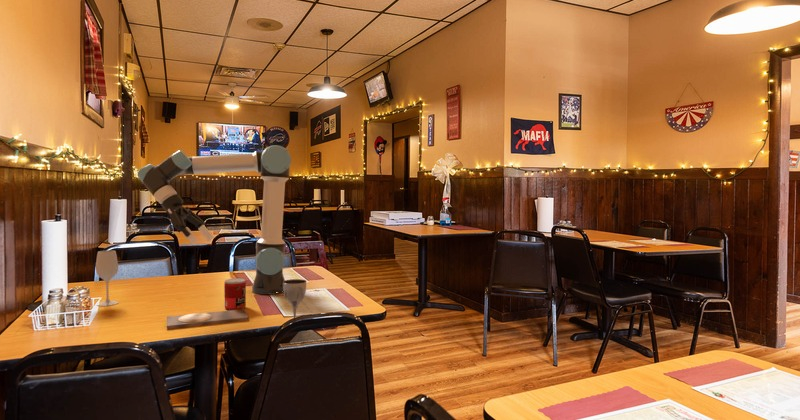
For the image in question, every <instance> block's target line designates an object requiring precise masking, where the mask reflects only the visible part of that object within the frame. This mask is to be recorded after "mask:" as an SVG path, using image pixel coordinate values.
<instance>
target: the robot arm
mask: <svg viewBox="0 0 800 420" xmlns="http://www.w3.org/2000/svg"><path fill="white" fill-rule="evenodd" d="M291 162H292V157H291V155H290V152H289V150H287V149H286V148H285V147H284V146H281V145H277V144H276V145H275V144H274V145H270V146H267V147H266V148H265V149H264V150H255V151H254V152H252V153H239V154H237V153H236V154H235V153H234V154H221V155H219V154H217V155H216V154H215V155H200V156H188V155H186V153H185V152H184V151H183V150H177V151H176V152H174V153H172V154H171V155H170V156H168V157H167V158H166V159H164V160H162V162H161V163H159V164H158V165H156V166H155V165H154V164H151V163H149V164H147V165H145V166H143V167H141V168H140V169H139V170H138V171H137V175H136V176H137V177H138V178H139V180H140V182H141V183H142V185H144V187H145V188H146V189H147V190H148V191H149V192H150V193H151V195H152V196H153V197H154V199H155V201H156V202H158V204H160V205H161V207H162V209H163V210H164V211H165V212H166V214H167V215H168V217H169V218H170V220H171V223H172V225H173V227H174V229H175V230H176V231H177V232H178V233H180V232H181V233H182V234H183V235H184V237H186V239H187V240H188V241H189V243H190V244H191V245H194V244H195V243H196V242H198V241H199V239H198V238H197V236H196V235H195V234H194V233H193V232H192V230H191V229H190V228H189V227H188V226H187V225H186V222H185V221H188V222H189V223H190V224H192V225H193V226H195V227H196V228H198V229H197V230H198V231H199V232H200V233H201V235H202V236H203V237H204V238H205V240H206V241H207V242H210V240H212V239H213V238H214V235H213V234H212V233H211V232H210V231H209V229H208V228H207V227H206V226H205V224H206V222H205V221H204V220H202V218H201V217H199V216H198V215H197V214H196V213H195V212H194V211H192V210H191V209H190V207H188V206H183V204H184V199H182V197H181V196H180V195H179V194H178V193H177V191H176V189H175V188H173V186H172V185H171V184H170V183H169V182H170V181H172V180H173V179H175V178H176V177H178V176H187V175H200V174H201V175H202V174H204V175H205V174H218V173H236V172H239V173H240V172H252V171H253V172H256V173H259V174H260V178H261V179H262V180H263V191H262V192H263V195H262V208H261V209H262V212H261V213H262V214H261V225H260V227H261V229H260V238H259V239H258V240H256V243H255V260H254V263H255V277H254V279H253V283H252V285H251V292H252V293H253V292H254V294H257V293H259V294H258V295H269V294H268V293H276V292H282V291H283V281H285V280H286V279H285V277H284V273H283V272H284V271H283V268H284V266H285V263H286V257H285V249H286V242H285V240H283V222H284V207H285V206H284V205H285V189H286V187H285V186H286V182H288V180H289V179H290V167H291ZM282 293H283V292H282Z"/></svg>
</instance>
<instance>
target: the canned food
mask: <svg viewBox="0 0 800 420" xmlns="http://www.w3.org/2000/svg"><path fill="white" fill-rule="evenodd" d="M223 282H224V288H223V289H224V290H223V291H224V295H223V296H224V309H225V311H229V310H239V309H244V310H245V308H246V303H247V302H246V299H247V297H246V296H247V295H246V293H247V290H246V289H247V288H246V287H247V286H246V283H247V282H246V279H244V278H241V277H240V278H238V277H237V278H234V277H233V278H228V279H225V280H224V281H223Z"/></svg>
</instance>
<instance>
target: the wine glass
mask: <svg viewBox="0 0 800 420" xmlns="http://www.w3.org/2000/svg"><path fill="white" fill-rule="evenodd" d="M283 291H284V292H283V295H284V298H285V300H286V301H287V302H288V303H289V304H290V306H291V307H292V312H293V319H294V318H295V317H296V318H297V308H298V306H299V305H300V303H301V302H302V301H303V300H304V299H305V296H306V292H307V280H306V279H302V278H300V279H299V278H291V279H285V281H283Z"/></svg>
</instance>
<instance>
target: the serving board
mask: <svg viewBox="0 0 800 420" xmlns="http://www.w3.org/2000/svg"><path fill="white" fill-rule="evenodd" d="M246 320H248V321H249V316H248V314H247V313H246V311H245V308H244V309H239V310H222V311H221V310H219V311H211V312H198V313H197V312H196V313H189V314H181V315H180V314H179V315H171V316H170V315H169V316H166V330H174V329H176V330H177V329H184V328H192V327H194V328H195V327H203V326H211V325H219V324H220V325H221V324H222V325H223V324H230V323H238V322H239V321H240V322H247V321H246Z"/></svg>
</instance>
